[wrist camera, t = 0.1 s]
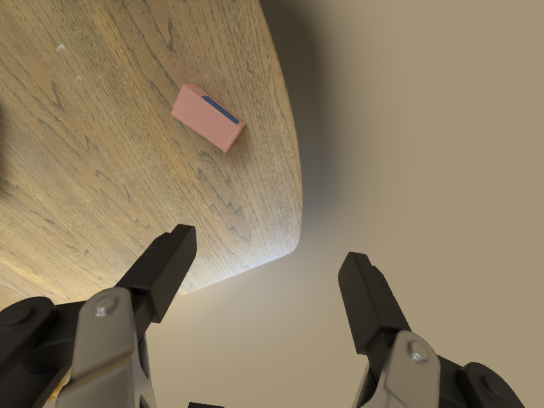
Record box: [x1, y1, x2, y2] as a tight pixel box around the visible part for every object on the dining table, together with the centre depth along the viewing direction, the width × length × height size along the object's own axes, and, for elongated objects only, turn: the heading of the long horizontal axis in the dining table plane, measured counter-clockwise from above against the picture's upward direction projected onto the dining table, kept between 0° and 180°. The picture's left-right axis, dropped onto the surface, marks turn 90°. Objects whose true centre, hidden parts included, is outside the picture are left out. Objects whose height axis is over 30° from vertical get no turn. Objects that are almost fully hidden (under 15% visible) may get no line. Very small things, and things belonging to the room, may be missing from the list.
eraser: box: [171, 84, 246, 153], centre depth 23 cm, size 4×7×3 cm, turn 53°
